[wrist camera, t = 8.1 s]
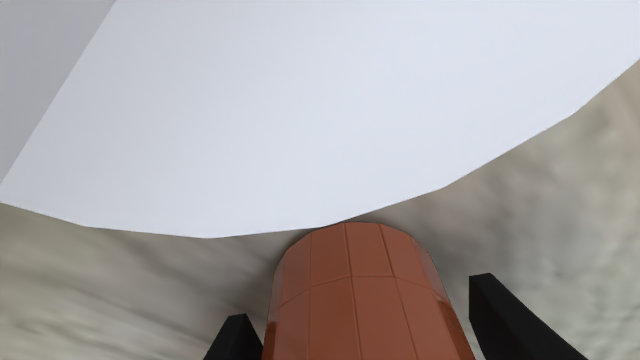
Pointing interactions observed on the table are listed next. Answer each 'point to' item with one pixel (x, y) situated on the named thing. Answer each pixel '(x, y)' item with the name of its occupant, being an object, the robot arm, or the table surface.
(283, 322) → the pot
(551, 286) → the table surface
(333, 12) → the cylinder with rectangular tab
